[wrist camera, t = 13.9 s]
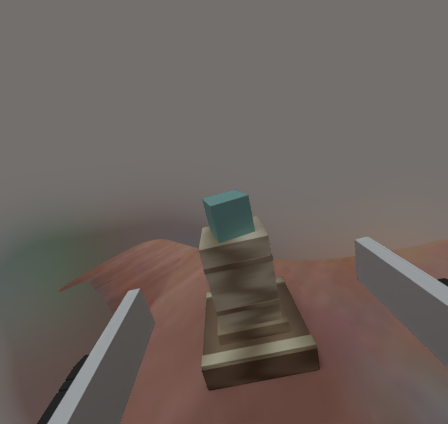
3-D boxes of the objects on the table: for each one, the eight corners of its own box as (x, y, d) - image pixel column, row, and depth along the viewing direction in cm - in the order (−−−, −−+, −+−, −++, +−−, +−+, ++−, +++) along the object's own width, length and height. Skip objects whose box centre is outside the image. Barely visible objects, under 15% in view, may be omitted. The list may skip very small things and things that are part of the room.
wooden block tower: (274, 291, 31) (260, 213, 27) (290, 332, 24) (274, 236, 20) (219, 302, 31) (199, 227, 27) (220, 345, 24) (193, 253, 21)
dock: (284, 293, 34) (282, 276, 33) (319, 369, 22) (316, 346, 21) (211, 308, 34) (206, 291, 33) (208, 390, 23) (201, 368, 22)
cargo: (241, 220, 26) (234, 189, 25) (255, 231, 22) (248, 195, 21) (210, 230, 25) (202, 198, 24) (219, 243, 21) (210, 206, 20)
